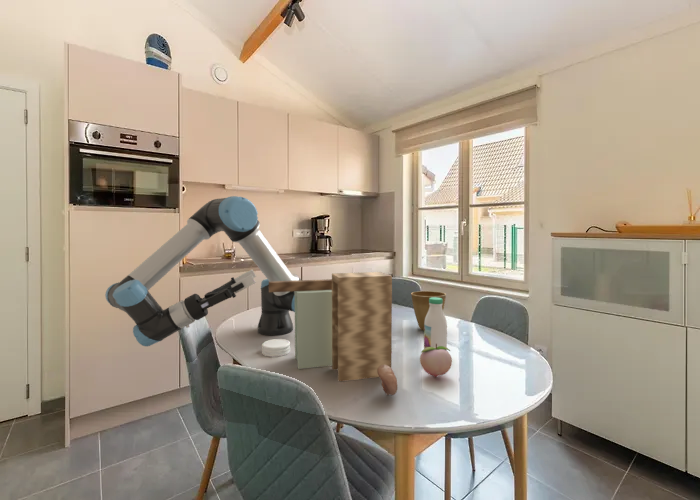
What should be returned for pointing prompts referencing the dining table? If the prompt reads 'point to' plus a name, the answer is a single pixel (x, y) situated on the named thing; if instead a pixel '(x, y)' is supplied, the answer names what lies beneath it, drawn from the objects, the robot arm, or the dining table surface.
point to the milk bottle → (435, 324)
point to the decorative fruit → (436, 360)
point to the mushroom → (387, 379)
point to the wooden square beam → (300, 285)
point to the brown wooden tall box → (361, 324)
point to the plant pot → (424, 304)
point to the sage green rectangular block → (313, 328)
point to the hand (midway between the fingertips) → (254, 275)
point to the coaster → (276, 347)
